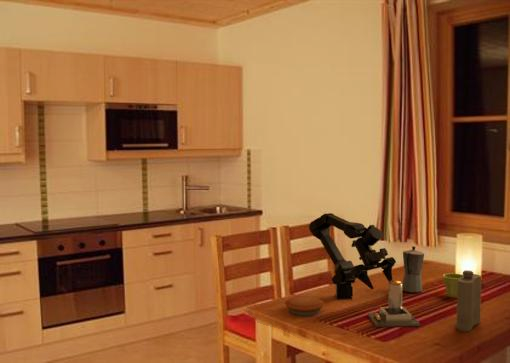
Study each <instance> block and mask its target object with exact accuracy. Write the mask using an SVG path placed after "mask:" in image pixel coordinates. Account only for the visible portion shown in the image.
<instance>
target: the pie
mask: <svg viewBox="0 0 510 363" xmlns="http://www.w3.org/2000/svg"><path fill="white" fill-rule="evenodd" d="M284 304H285V306H286V308H287V309H288V310H289V312H290V313H291V314H293V315H295V316H299V317H300V316H301V317H311V316H315V315H317V314H319V313H320V311H321V309H322V307H323V306H324V305H325V303H324V301H323V300H321V299H319V298H317V297H314V296H311V295H310V296H309V295H299V296H292V297H290V298H289V299H287V300H285V301H284Z"/></svg>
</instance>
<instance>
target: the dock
mask: <svg viewBox="0 0 510 363" xmlns="http://www.w3.org/2000/svg"><path fill="white" fill-rule="evenodd" d="M368 318H369V319H370V321H371V322H372V323H373V325H374V326H375V327H376V328H381V327H382V328H385V327H387V328H388V327H389V328H390V327H392V328H394V327H396V326H399V327H420V326H421V324H420V322H419V321H418V320H417V319H416V318H415V317H414V315H412V314H411V313H410V312H409V310H408V309H407V308H406V307H405V306H402V314H388V306H386V307H385V306H381V307H379V313H378V312H374V313H373V312H372V313H368Z"/></svg>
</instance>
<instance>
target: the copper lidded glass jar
mask: <svg viewBox="0 0 510 363" xmlns="http://www.w3.org/2000/svg"><path fill="white" fill-rule="evenodd" d="M402 284H403V282H402V281H401V280H399V279H398V280H397V279H392V280H391V281H390V282H389V281H388V306H387V307H388V314H402V307H403V290H402Z"/></svg>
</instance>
